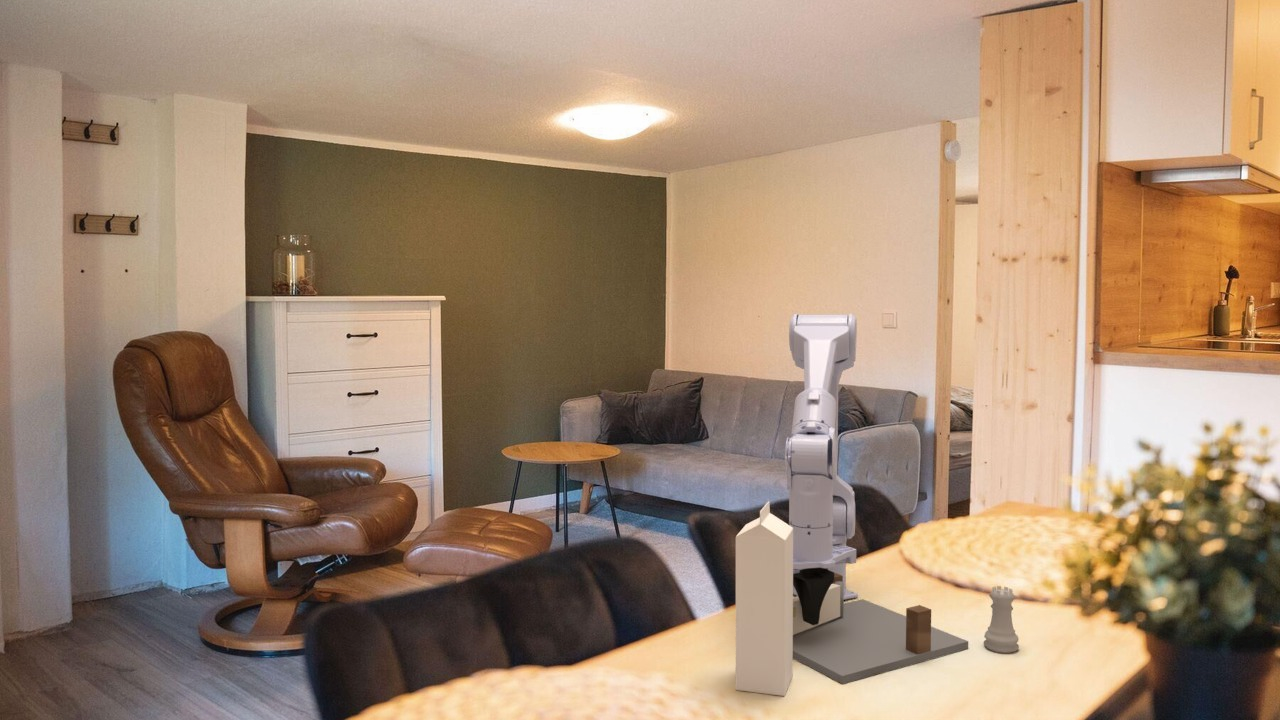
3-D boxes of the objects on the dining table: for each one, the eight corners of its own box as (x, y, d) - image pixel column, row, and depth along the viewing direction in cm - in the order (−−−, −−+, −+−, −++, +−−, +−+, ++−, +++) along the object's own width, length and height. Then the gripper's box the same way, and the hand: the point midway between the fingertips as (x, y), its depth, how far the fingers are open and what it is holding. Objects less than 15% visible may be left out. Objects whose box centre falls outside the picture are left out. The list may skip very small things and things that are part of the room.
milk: (735, 691, 114) (733, 510, 112) (745, 671, 120) (744, 498, 118) (786, 697, 112) (785, 513, 111) (794, 676, 118) (793, 501, 116)
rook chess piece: (1022, 655, 124) (1023, 595, 124) (986, 653, 125) (987, 593, 125) (1015, 642, 129) (1017, 584, 128) (980, 640, 130) (982, 583, 129)
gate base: (745, 632, 133) (744, 625, 133) (863, 605, 144) (863, 599, 144) (842, 683, 116) (842, 676, 116) (968, 648, 127) (968, 641, 127)
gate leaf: (836, 612, 137) (836, 580, 137) (846, 616, 136) (847, 583, 136) (777, 635, 128) (777, 601, 128) (787, 639, 127) (787, 604, 127)
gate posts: (820, 611, 138) (820, 574, 138) (833, 608, 140) (833, 572, 139) (917, 654, 122) (917, 612, 122) (930, 650, 123) (931, 609, 123)
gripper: (787, 537, 120) (786, 642, 121) (872, 522, 127) (871, 621, 128) (753, 525, 126) (753, 625, 127) (836, 511, 133) (836, 606, 134)
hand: (810, 622), depth 128 cm, fingers closed, pressing on gate leaf
